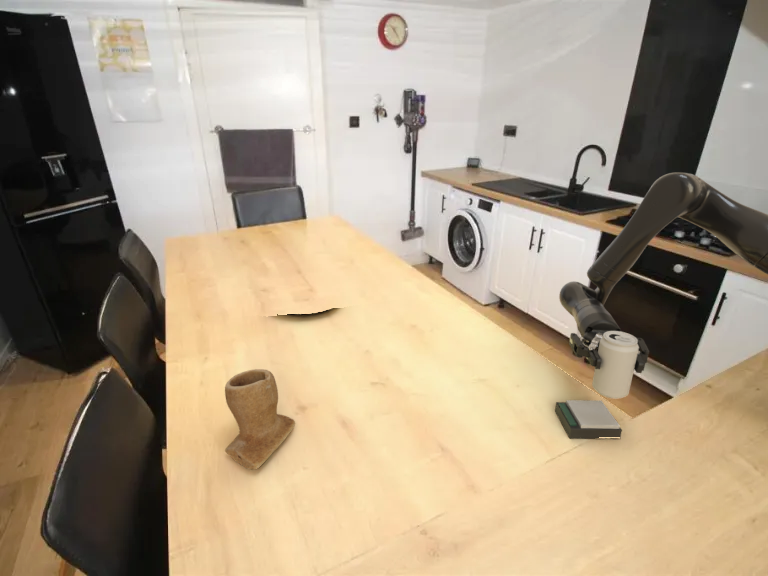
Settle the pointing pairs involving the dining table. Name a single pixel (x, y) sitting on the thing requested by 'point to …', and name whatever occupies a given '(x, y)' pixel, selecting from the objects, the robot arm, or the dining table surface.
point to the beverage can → (615, 364)
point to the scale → (587, 419)
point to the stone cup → (255, 417)
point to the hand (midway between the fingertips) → (619, 366)
